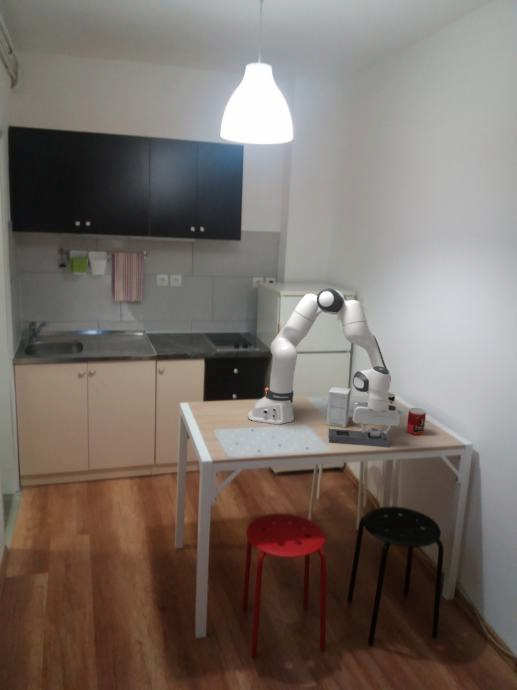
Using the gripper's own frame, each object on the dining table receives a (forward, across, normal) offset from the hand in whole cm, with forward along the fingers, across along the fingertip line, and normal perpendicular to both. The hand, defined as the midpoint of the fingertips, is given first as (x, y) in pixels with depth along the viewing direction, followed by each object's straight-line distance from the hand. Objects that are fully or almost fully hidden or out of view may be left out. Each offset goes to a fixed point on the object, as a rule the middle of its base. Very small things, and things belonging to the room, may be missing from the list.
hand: (374, 433), depth 255 cm
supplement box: (+4, -15, +21) cm, 26 cm away
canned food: (+4, +21, +16) cm, 27 cm away
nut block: (+4, 0, 0) cm, 4 cm away
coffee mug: (+4, +9, +42) cm, 43 cm away
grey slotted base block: (+4, -7, 0) cm, 8 cm away
